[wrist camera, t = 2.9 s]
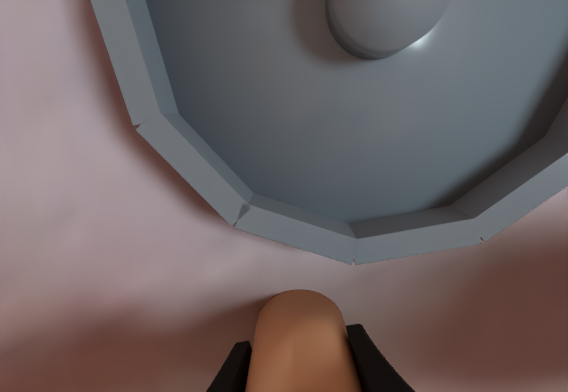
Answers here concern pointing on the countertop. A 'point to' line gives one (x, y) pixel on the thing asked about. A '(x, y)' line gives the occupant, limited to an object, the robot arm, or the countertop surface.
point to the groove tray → (352, 114)
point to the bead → (301, 347)
